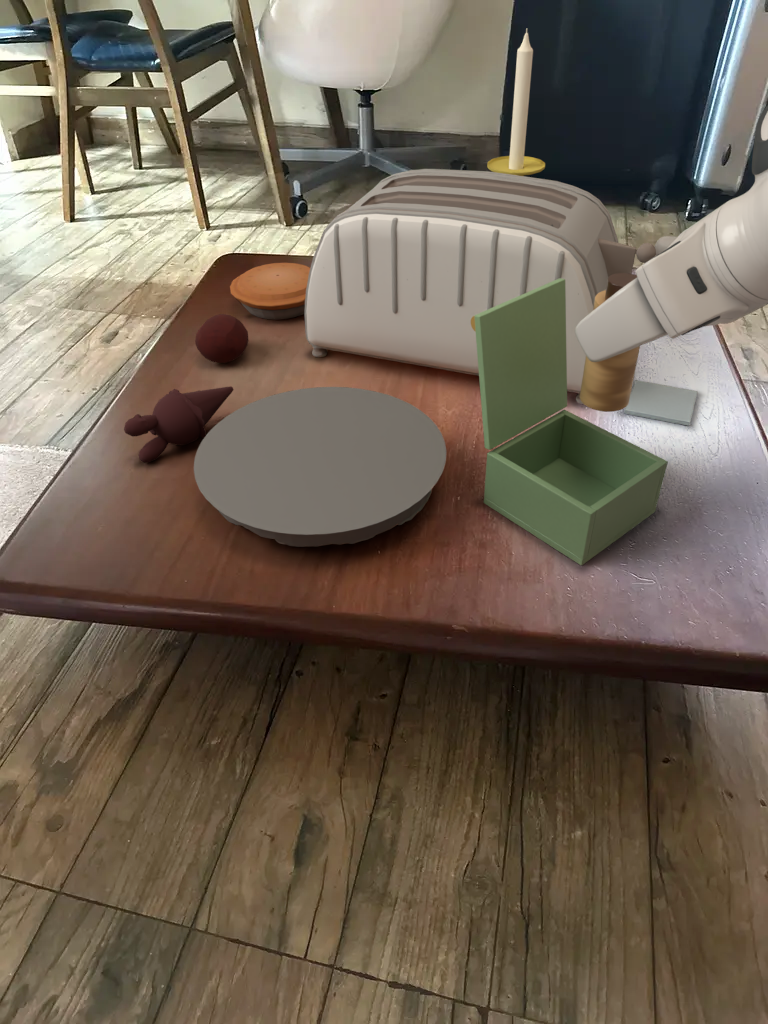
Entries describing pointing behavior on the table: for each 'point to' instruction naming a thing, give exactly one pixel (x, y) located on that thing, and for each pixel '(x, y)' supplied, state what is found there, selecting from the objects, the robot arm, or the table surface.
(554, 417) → the green box
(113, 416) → the table surface
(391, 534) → the table surface
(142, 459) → the gnome figurine
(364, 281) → the toaster
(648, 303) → the robot arm
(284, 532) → the flat disc
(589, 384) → the pepper mill
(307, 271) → the pie
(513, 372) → the box lid
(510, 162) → the candle
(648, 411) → the tile
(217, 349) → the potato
